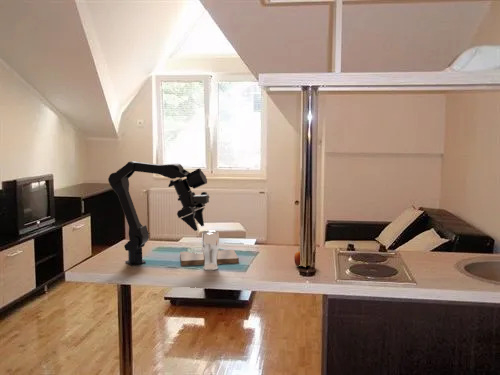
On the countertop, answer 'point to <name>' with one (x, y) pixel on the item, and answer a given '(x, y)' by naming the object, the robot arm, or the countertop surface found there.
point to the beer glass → (210, 249)
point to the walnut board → (198, 259)
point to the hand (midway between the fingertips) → (199, 228)
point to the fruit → (297, 258)
